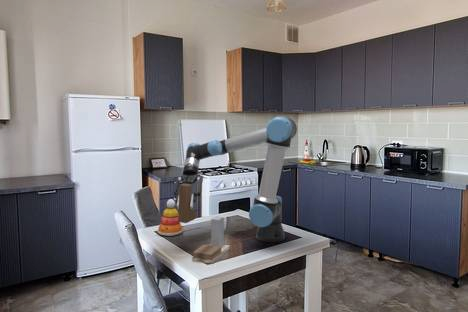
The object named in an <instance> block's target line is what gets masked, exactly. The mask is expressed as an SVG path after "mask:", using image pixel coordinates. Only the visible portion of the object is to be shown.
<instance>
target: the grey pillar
mask: <svg viewBox="0 0 468 312" xmlns="http://www.w3.org/2000/svg"><path fill="white" fill-rule="evenodd" d="M224 220H225V219H224V216H220V215H219V216H217V215H215V216H214V217H212V218H211V219H210V224H211V225H210V228H211V229H210V234H211V235H210V237H211V238H210V243H211V246H220V247H222V246H223V245H225V244H224V243H225V242H224V238H225V237H224V234H225V233H224V230H225V229H224V227H225V226H224Z"/></svg>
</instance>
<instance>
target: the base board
mask: <svg viewBox="0 0 468 312" xmlns="http://www.w3.org/2000/svg"><path fill="white" fill-rule="evenodd" d="M230 249H231V246H230V245H229V244H224V245H223V246H222V247H220V246H211V242H210V243H209V244H202V245H201V246H200V247H198V248H197V249H196V250H194V251H193V252H192V257H191V261H192V262H197V263H204V264H205V263H206V264H211V265H213V264H214V263H216V262H217V261H218V260H219V259H221V257H222V256H223V255H225V254H226V253H227V251H229V250H230Z"/></svg>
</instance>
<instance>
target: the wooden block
mask: <svg viewBox="0 0 468 312" xmlns="http://www.w3.org/2000/svg"><path fill="white" fill-rule="evenodd" d="M178 190H179V209H178V222H180V223H184V224H188V223H190V222H192V221H193V220H196V213H197V210H196V209H191V207H190V204H191V197H192V194H193V188H192V184H186V183H184V184H182V183H181V184H180V183H179V187H178Z"/></svg>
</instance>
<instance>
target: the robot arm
mask: <svg viewBox="0 0 468 312" xmlns="http://www.w3.org/2000/svg"><path fill="white" fill-rule="evenodd" d="M297 131H298V126H297V124H296V122H295V121H294V120H293V119H292V118H289V117H284V116H276V117H274V118H272V119H270V120H269V122H268V123H267V124H266V127H264V128H263V127H262V128H261V129H257V130H253V131H250V132H247V133H243V134H239V135H237V136H232V137H230V138H226V139H222V140H217V139H216V140H211V141H209V142H206V143H203V144H199V143H197V142H191V143H189V144H188V145H187V148H186V153H185V159H184V164H183V170H182V175H181V176H175V185H174V187H173V191H172V192H173V195H174V197H175V201H176V207H177V210H179V185H180V183H181V184H184V183H186V184H192V197H191V204H190V207H191V209H192V210H194V209H193V208H194V203H196V202H197V197H200V196H201V194H202V183H203V181H204V180H203V177H202V176H200V177H199V176H198V174H199V167H200V162H201V160H204V159H207V158H210V157H216V156H223V155H226V154H229V153H232V152H237V151H240V150H243V149H247V148H251V147H256V146H260V145H262V144H266V145H267V150H266V156H265V160H264V165H263V171H262V176H261V181H260V185H259V189H258V194H256V195H254V199H253V202H252V203H253V204H252V206H251V207H250V210H249V211H248V216H249V220H250V221H251V224H253V225H254V226H256V227H257V231H256V233H255V234H256V239H257V240H258V241H261V242H264V243H279V242H282V241H284V240H285V239H286V234H285V230H284V228H283V225H282V220H283V218H282V217H283V214H282V210H283V207H282V206H283V205H282V204H283V198H282V197H281V196H280V195H277V192H278V189H279V184H280V180H281V174H282V170H283V166H284V160H285V155H286V151H287V150H288V149H289V148H290V147H291V143H292V139H293V138H294V137H295V136H296V134H297ZM181 181H182V182H181ZM196 182H197V183H198V184H197V190H196V186H195V185H196V184H195V183H196Z"/></svg>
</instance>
